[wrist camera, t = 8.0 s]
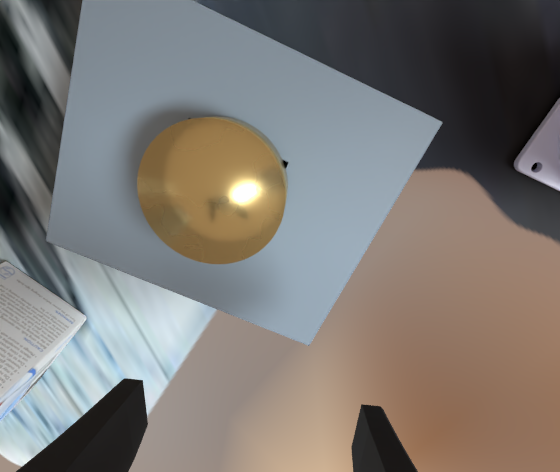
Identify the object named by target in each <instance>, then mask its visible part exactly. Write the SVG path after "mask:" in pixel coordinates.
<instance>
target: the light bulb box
mask: <svg viewBox="0 0 560 472" xmlns="http://www.w3.org/2000/svg"><path fill="white" fill-rule="evenodd" d="M86 319H87V317H86V316H85V315H84V314H83V313H81V312H80V311H78V310H77V309H75V308H74V307H72V306H71V305H70V304H68V303H67V302H65V301H64V300H62V299H61V298H60V297H58V296H57V295H55V294H54V293H52V292H51V291H49V290H48V289H46V288H45V287H43V286H42V285H41V284H39V283H38V282H36V281H35V280H33V279H32V278H30V277H29V276H27V275H26V274H24V273H23V272H22V271H20V270H19V269H17V268H16V267H14V266H13V265H11V264H10V263H9V262H7V261H5V262H3V263H1V264H0V421H1V420H2V419H3V418H4V417H5V416H6V415H7V414H8V413H9V412H10V411H11V410H12V409H13V408H14V407H15V406H16V405H17V404H18V403H19V402H20V401H21V400H22V399H23V398H24V397H25V396H26V395H27V394H28V393H29V392H30V390H31V389H32V388H33V387H34V386H35V384H36V383H37V382H38V381H39V379H40V378H41V377H42V376H43V374H44V373H45V372H46V370H47V369H48V368H49V367H50V365H51V364H52V363H53V362H54V360H55V359H56V358H57V357H58V355H59V354H60V353H61V351H62V350H63V349H64V348H65V346H66V345H67V344H68V343H69V341H70V340H71V339H72V338H73V336H74V335H75V334H76V332H77V331H78V330H79V329H80V327H81V326H82V325H83V323H84V322H85V320H86Z"/></svg>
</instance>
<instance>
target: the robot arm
mask: <svg viewBox="0 0 560 472" xmlns="http://www.w3.org/2000/svg"><path fill="white" fill-rule="evenodd" d="M534 163H537V167H536V169H535V170H533V171H531V167H532V165H533V164H534ZM514 167H515V169H516V170H517V171H518V172H520V173H523V174H525V175H527V176H529V177H531V178H533V179H535V180H537V181H539V182H541V183H543V184H545V185H547V186H549V187H552V188H554V189H556V190H558V191H560V98H559V99H558V100H557V102H556V103H555V105H554V106H553V107H552V109H551V110H550V112H549V113H548V114H547V116H546V117H545V119H544V120H543V121H542V123H541V124H540V126H539V127H538V128H537V130H536V131H535V133H534V134H533V135H532V137H531V138H530V140H529V141H528V142H527V144H526V145H525V147H524V148H523V149H522V151H521V152H520V154H519V155H518V156H517V158H516V159H515V161H514ZM147 425H148V423H147V413H146V405H145V396H144V388H143V380H135V379H123V380H122V381H121V382H120V383H119V384H117V385H116V386H115V387H114V388H113V389H112V390H111V391H110V392H109V393H108V394H106V395H105V396H104V397H103V398H102V399H101V400H100V401H99V402H98V403H97V404H95V405H94V406H93V407H92V408H91V409H90V410H89V411H88V412H87V413H85V414H84V415H83V416H82V417H81V418H80V419H79V420H77V421H76V422H75V423H74V424H73V425H72V426H71V427H69V428H68V429H67V430H66V431H65V432H64V433H63V434H61V435H60V436H59V437H58V438H57V439H56V440H54V441H53V442H52V443H51V444H50V445H48V446H47V447H46V448H45V449H43V450H42V451H41V452H40V453H38V454H37V455H36V456H35V457H34V458H32V459H31V460H30V461H29V462H27V463H26V464H25V465H24V466H22V467H21V468H20V469H19V470H17V471H16V472H128V471H129V469H130V467H131V465H132V462H133V460H134V458H135V456H136V453H137V451H138V448H139V446H140V444H141V441H142V438H143V436H144V433H145V430H146V428H147ZM352 460H353V472H418V471H417V469H416V468H415V466H414V464H413V463H412V461H411V459H410V458H409V456H408V454H407V453H406V451H405V449H404V447H403V446H402V444H401V442H400V440H399V438H398V437H397V435H396V433H395V431H394V429H393V427H392V426H391V424H390V422H389V420H388V418H387V416H386V414H385V412H384V410H383V409H382V408H381V407H380V406H371V405H361V409H360V413H359V418H358V422H357V426H356V430H355V435H354V439H353V443H352Z"/></svg>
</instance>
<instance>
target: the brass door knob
mask: <svg viewBox="0 0 560 472" xmlns="http://www.w3.org/2000/svg"><path fill="white" fill-rule="evenodd" d="M137 190H138V198H139V202H140V206H141V209H142V211H143V214H144V216H145V218H146V220H147V222H148V224H149V225H150V227H151V228H152V230H153V231H154V232H155V234H156V235H157V236H158V237H159V238H160V239H161V240H162V241H163V242H164V243H165V244H166V245H167V246H169V247H170V248H171V249H173V250H174V251H176V252H177V253H179V254H181V255H182V256H185V257H187V258H189V259H192V260H195V261H198V262H202V263H207V264H230V263H235V262H239V261H242V260H245V259H247V258H249V257H251V256H253V255H254V254H256V253H258V252H259V251H260V250H262V249H263V248H264V247H265V246H266V245H267V244H268V243H269V242H270V241H271V240H272V238H273V237H274V235H275V234H276V232H277V230H278V228H279V226H280V224H281V221H282V218H283V214H284V209H285V204H286V199H287V193H288V179H287V173H286V168H285V165H284V162H283V160H282V158H281V156H280V154H279V152H278V150H277V149H276V147H275V146H274V144H273V143H272V142H271V141H270V140H269V138H268V137H267V136H266V135H264V134H263V133H262V132H261V131H260V130H258V129H257V128H255V127H254V126H252V125H250V124H248V123H246V122H244V121H241V120H238V119H235V118H230V117H222V116H214V117H204V118H193V119H188V120H184V121H181V122H178V123H176V124H173V125H172V126H170V127H168V128H167V129H165V130H164V131H162V132H161V133H160V134H159V135H158V136H156V138H155V139H154V140H153V141H152V142H151V143H150V145H149V146H148V148H147V149H146V151H145V153H144V155H143V157H142V160H141V163H140V166H139V170H138V177H137Z"/></svg>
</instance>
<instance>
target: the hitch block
mask: <svg viewBox="0 0 560 472" xmlns="http://www.w3.org/2000/svg"><path fill="white" fill-rule="evenodd" d="M214 116H222V117H230V118H235V119H238V120H241V121H244V122H246V123H248V124H250V125H252V126H254V127H255V128H257V129H258V130H260V131H261V132H262V133H263V134H264V135H266V136H267V137H268V138H269V140H270V141H271V142H272V143H273V144H274V146H275V147H276V149H277V150H278V152H279V154H280V156H281V158H282V160H285V161H287V163H286V165H285V168H286V173H287V179H288V193H287V199H286V204H285V209H284V214H283V218H282V221H281V224H280V226H279V228H278V230H277V232H276V234H275V235H274V237H273V238H272V240H271V241H270V242H269V243H268V244H267V245H266V246H265V247H264V248H263V249H262V250H260V251H259V252H258V253H256V254H254V255H253V256H251V257H249V258H247V259H245V260H242V261H239V262H235V263H230V264H207V263H202V262H198V261H195V260H192V259H189V258H187V257H185V256H182V255H181V254H179V253H177V252H176V251H174V250H173V249H171V248H170V247H169V246H167V245H166V244H165V243H164V242H163V241H162V240H161V239H160V238H159V237H158V236H157V235H156V234H155V232H154V231H153V230H152V228H151V227H150V225H149V224H148V222H147V220H146V218H145V216H144V214H143V211H142V209H141V206H140V202H139V198H138V190H137V177H138V170H139V166H140V163H141V160H142V157H143V155H144V153H145V151H146V149H147V148H148V146H149V145H150V143H151V142H152V141H153V140H154V139H155V138H156V136H158V135H159V134H160V133H161V132H162V131H164V130H165V129H167V128H168V127H170V126H172V125H173V124H176V123H178V122H181V121H184V120H188V119H193V118H204V117H214ZM442 123H443V122H442V121H439V120H437V119H435V118H433V117H431V116H429V115H427V114H425V113H423V112H421V111H419V110H417V109H415V108H413V107H411V106H409V105H407V104H405V103H402V102H400V101H398V100H396V99H394V98H392V97H390V96H388V95H386V94H384V93H382V92H380V91H378V90H376V89H374V88H372V87H370V86H367V85H365V84H363V83H361V82H359V81H357V80H355V79H353V78H351V77H349V76H347V75H345V74H343V73H341V72H339V71H337V70H335V69H333V68H330V67H328V66H326V65H324V64H322V63H320V62H318V61H316V60H314V59H312V58H310V57H308V56H306V55H304V54H302V53H300V52H298V51H296V50H293V49H291V48H289V47H287V46H285V45H283V44H281V43H279V42H277V41H275V40H273V39H271V38H269V37H267V36H265V35H263V34H261V33H258V32H256V31H254V30H252V29H250V28H248V27H246V26H244V25H242V24H240V23H238V22H236V21H234V20H232V19H230V18H228V17H226V16H224V15H221V14H219V13H217V12H215V11H213V10H211V9H209V8H207V7H205V6H203V5H201V4H199V3H197V2H195V1H193V0H82V7H81V13H80V20H79V27H78V33H77V40H76V46H75V53H74V59H73V66H72V73H71V79H70V86H69V92H68V99H67V106H66V112H65V119H64V125H63V132H62V139H61V145H60V152H59V158H58V165H57V172H56V178H55V185H54V191H53V198H52V205H51V211H50V218H49V224H48V231H47V237H46V241H47V242H49V243H52V244H54V245H57V246H59V247H62V248H64V249H67V250H69V251H72V252H75V253H77V254H80V255H82V256H85V257H87V258H90V259H92V260H95V261H97V262H100V263H102V264H105V265H107V266H110V267H112V268H115V269H117V270H120V271H122V272H125V273H127V274H130V275H132V276H135V277H137V278H140V279H142V280H145V281H147V282H150V283H152V284H155V285H158V286H160V287H163V288H165V289H168V290H170V291H173V292H175V293H178V294H180V295H183V296H185V297H188V298H190V299H193V300H195V301H198V302H200V303H203V304H205V305H208V306H210V307H213V308H215V309H218V310H221V311H223V312H226V313H228V314H231V315H233V316H236V317H238V318H241V319H243V320H246V321H248V322H251V323H253V324H256V325H258V326H261V327H263V328H266V329H268V330H271V331H273V332H276V333H278V334H281V335H283V336H286V337H289V338H291V339H293V340H296V341H298V342H301V343H303V344H306V345H308V346H309V345H310V343H311V342H312V340H313V338H314V336H315V335H316V333H317V331H318V330H319V328H320V326H321V325H322V323H323V321H324V320H325V318H326V316H327V315H328V313H329V311H330V310H331V308H332V306H333V305H334V303H335V301H336V299H337V298H338V296H339V295H340V293H341V291H342V290H343V288H344V286H345V285H346V283H347V281H348V280H349V278H350V276H351V275H352V273H353V271H354V270H355V268H356V266H357V265H358V263H359V261H360V259H361V258H362V256H363V254H364V253H365V251H366V249H367V248H368V246H369V245H370V243H371V241H372V239H373V238H374V236H375V234H376V233H377V231H378V230H379V228H380V226H381V224H382V223H383V221H384V219H385V218H386V216H387V214H388V213H389V211H390V210H391V208H392V206H393V205H394V203H395V201H396V200H397V198H398V196H399V194H400V193H401V191H402V190H403V188H404V186H405V184H406V182H407V181H408V179H409V178H410V176H411V174H412V173H413V171H414V169H415V168H416V166H417V164H418V163H419V161H420V159H421V158H422V156H423V154H424V153H425V151H426V149H427V148H428V146H429V144H430V143H431V141H432V139H433V138H434V136H435V134H436V133H437V131H438V129H439V128H440V126H441V124H442Z"/></svg>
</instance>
